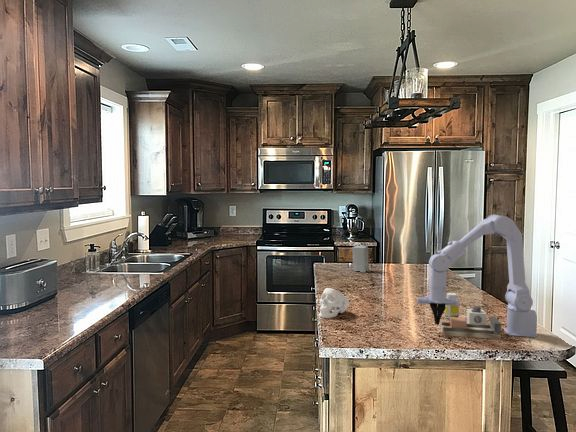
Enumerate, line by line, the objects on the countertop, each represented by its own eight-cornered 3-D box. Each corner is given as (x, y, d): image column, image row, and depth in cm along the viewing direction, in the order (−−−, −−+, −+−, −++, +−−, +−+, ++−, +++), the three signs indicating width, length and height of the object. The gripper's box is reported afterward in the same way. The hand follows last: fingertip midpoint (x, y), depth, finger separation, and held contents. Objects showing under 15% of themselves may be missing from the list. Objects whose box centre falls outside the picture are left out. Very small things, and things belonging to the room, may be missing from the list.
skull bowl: (308, 312, 193) (318, 285, 197) (326, 324, 202) (335, 298, 206) (328, 317, 186) (338, 288, 190) (346, 329, 195) (355, 302, 199)
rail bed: (495, 331, 173) (495, 316, 173) (500, 339, 165) (501, 323, 164) (441, 327, 177) (441, 313, 177) (443, 335, 169) (444, 320, 168)
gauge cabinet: (483, 323, 183) (483, 309, 183) (486, 328, 177) (486, 314, 177) (466, 322, 184) (467, 308, 184) (469, 327, 178) (469, 313, 178)
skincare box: (368, 271, 295) (369, 246, 294) (364, 273, 289) (364, 247, 288) (356, 269, 299) (356, 245, 298) (351, 271, 293) (352, 246, 292)
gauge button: (479, 319, 182) (479, 306, 181) (480, 321, 179) (481, 308, 179) (471, 319, 182) (472, 306, 182) (473, 321, 180) (473, 308, 179)
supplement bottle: (460, 317, 192) (461, 293, 191) (455, 320, 187) (455, 296, 187) (447, 315, 195) (448, 291, 194) (442, 317, 191) (442, 294, 190)
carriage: (464, 326, 174) (464, 317, 173) (466, 330, 169) (466, 321, 168) (450, 325, 175) (450, 317, 175) (451, 329, 170) (452, 320, 170)
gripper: (418, 288, 170) (417, 325, 171) (460, 290, 167) (459, 328, 168) (417, 284, 177) (416, 320, 178) (457, 286, 174) (456, 322, 175)
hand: (437, 323), depth 173 cm, fingers closed
